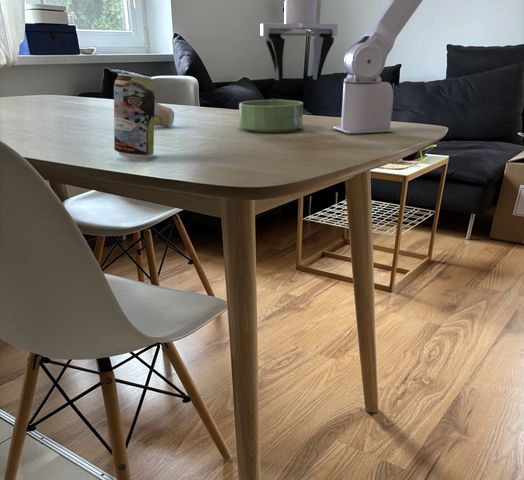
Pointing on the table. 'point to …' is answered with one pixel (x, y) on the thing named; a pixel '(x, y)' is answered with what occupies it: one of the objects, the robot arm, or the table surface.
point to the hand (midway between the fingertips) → (297, 80)
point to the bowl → (271, 115)
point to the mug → (163, 116)
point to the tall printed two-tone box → (134, 116)
